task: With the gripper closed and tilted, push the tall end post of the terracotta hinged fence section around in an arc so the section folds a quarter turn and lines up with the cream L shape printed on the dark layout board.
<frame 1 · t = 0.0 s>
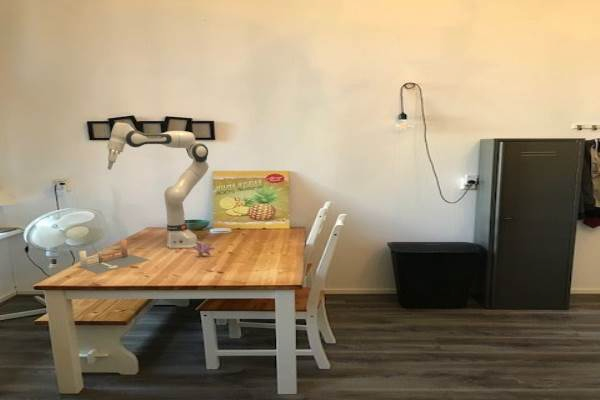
hand: (109, 169, 230), 52 cm above the table, tool tilted 20°, fingers open, 8 cm apart
hinged fence section: (114, 249, 220), point 6 cm above the table, hinge at 0.0°
fixed fence section: (100, 262, 214), resting on layout board
layout board: (100, 263, 214), on the table
lily: (203, 257, 224), on the table
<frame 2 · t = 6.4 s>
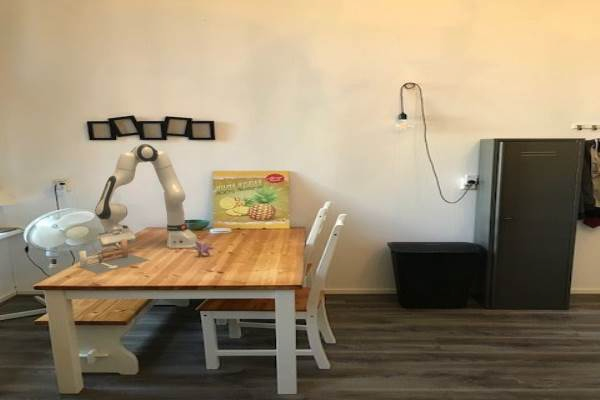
hand: (122, 249, 225), 5 cm above the table, tool tilted 45°, fingers closed, pressing on hinged fence section
hinged fence section: (115, 250, 220), point 6 cm above the table, hinge at 1.4°, touching gripper
everything else where it was.
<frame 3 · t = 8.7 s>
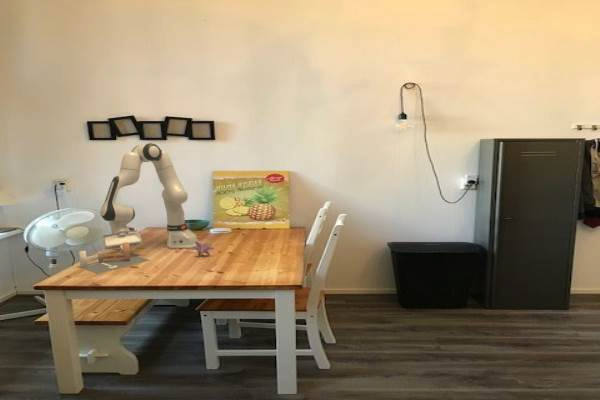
hand: (126, 252, 218), 5 cm above the table, tool tilted 45°, fingers closed, pressing on hinged fence section
hinged fence section: (116, 252, 215), point 6 cm above the table, hinge at 39.8°, touching gripper
everything else where it was.
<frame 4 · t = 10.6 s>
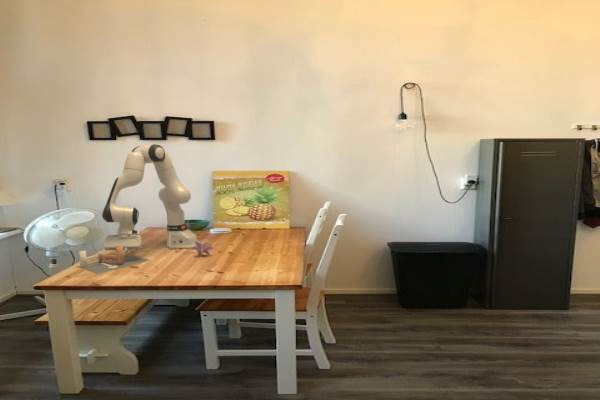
hand: (121, 255, 211), 5 cm above the table, tool tilted 45°, fingers closed
hinged fence section: (112, 254, 211), point 6 cm above the table, hinge at 69.1°, touching gripper
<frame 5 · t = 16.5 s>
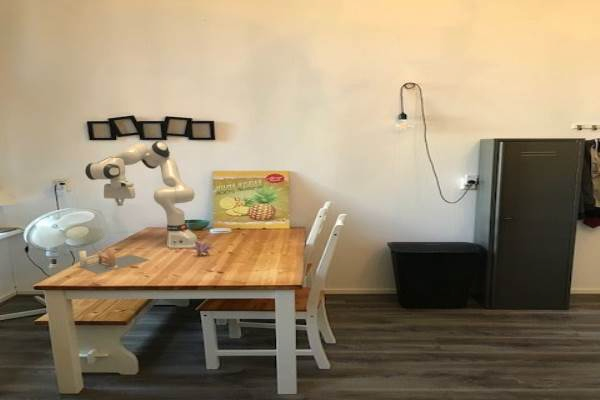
hand: (120, 205, 236), 29 cm above the table, tool pointing down, fingers closed
hinged fence section: (106, 255, 208), point 6 cm above the table, hinge at 91.6°
at the end: hinged fence section at +92° (first picture: +0°) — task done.
